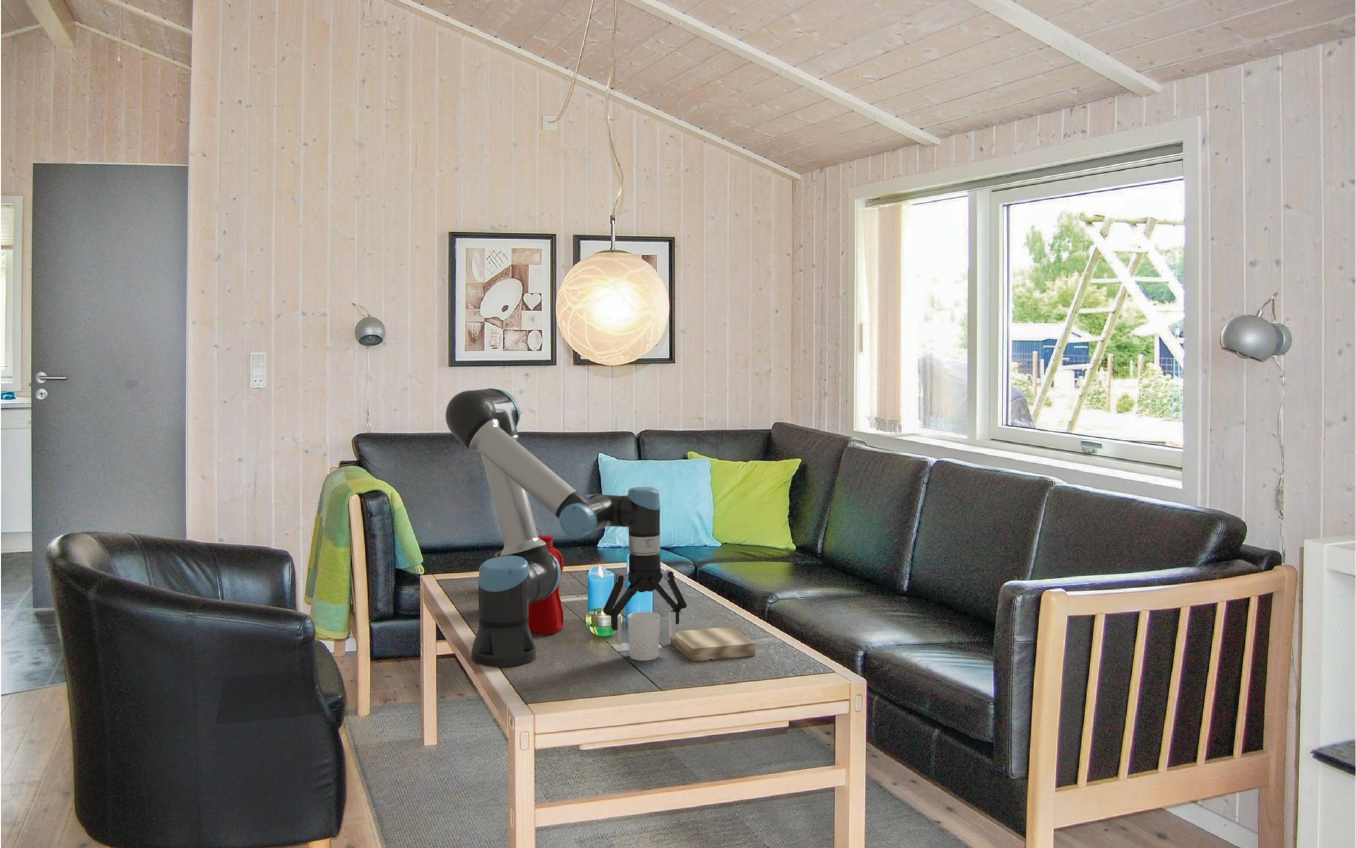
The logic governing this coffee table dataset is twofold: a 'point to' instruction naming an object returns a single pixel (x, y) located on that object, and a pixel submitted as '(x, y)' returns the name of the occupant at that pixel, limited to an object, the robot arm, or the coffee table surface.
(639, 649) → the white cup
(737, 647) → the wooden base
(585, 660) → the coffee table surface
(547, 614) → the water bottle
